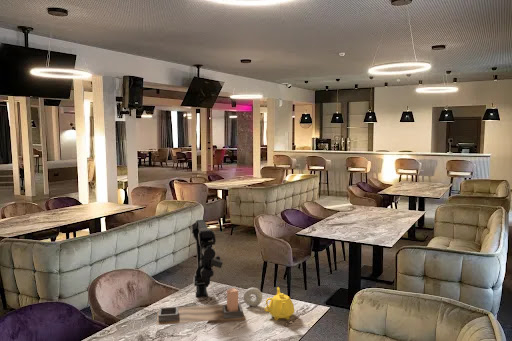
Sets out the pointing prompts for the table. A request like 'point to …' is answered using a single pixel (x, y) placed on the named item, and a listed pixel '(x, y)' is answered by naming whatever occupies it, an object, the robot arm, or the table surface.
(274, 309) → the teapot
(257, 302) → the donut
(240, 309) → the puzzle board
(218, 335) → the table surface
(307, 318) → the table surface
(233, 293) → the block
